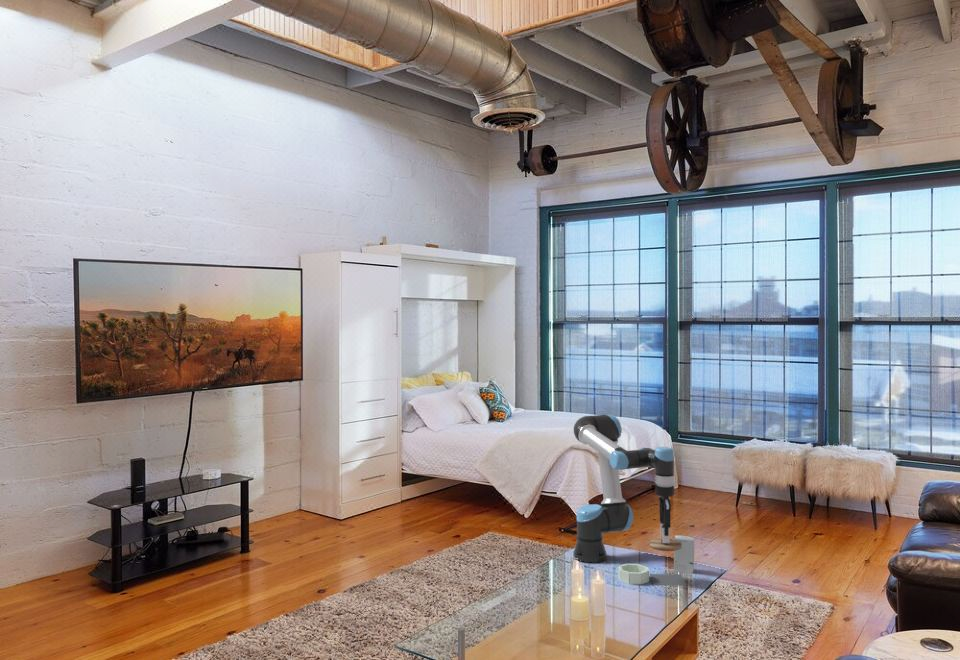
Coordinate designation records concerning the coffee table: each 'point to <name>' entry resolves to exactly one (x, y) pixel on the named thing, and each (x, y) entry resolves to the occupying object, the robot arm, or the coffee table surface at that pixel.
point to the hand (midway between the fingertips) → (665, 541)
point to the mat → (668, 579)
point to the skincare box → (684, 555)
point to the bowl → (633, 573)
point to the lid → (665, 544)
